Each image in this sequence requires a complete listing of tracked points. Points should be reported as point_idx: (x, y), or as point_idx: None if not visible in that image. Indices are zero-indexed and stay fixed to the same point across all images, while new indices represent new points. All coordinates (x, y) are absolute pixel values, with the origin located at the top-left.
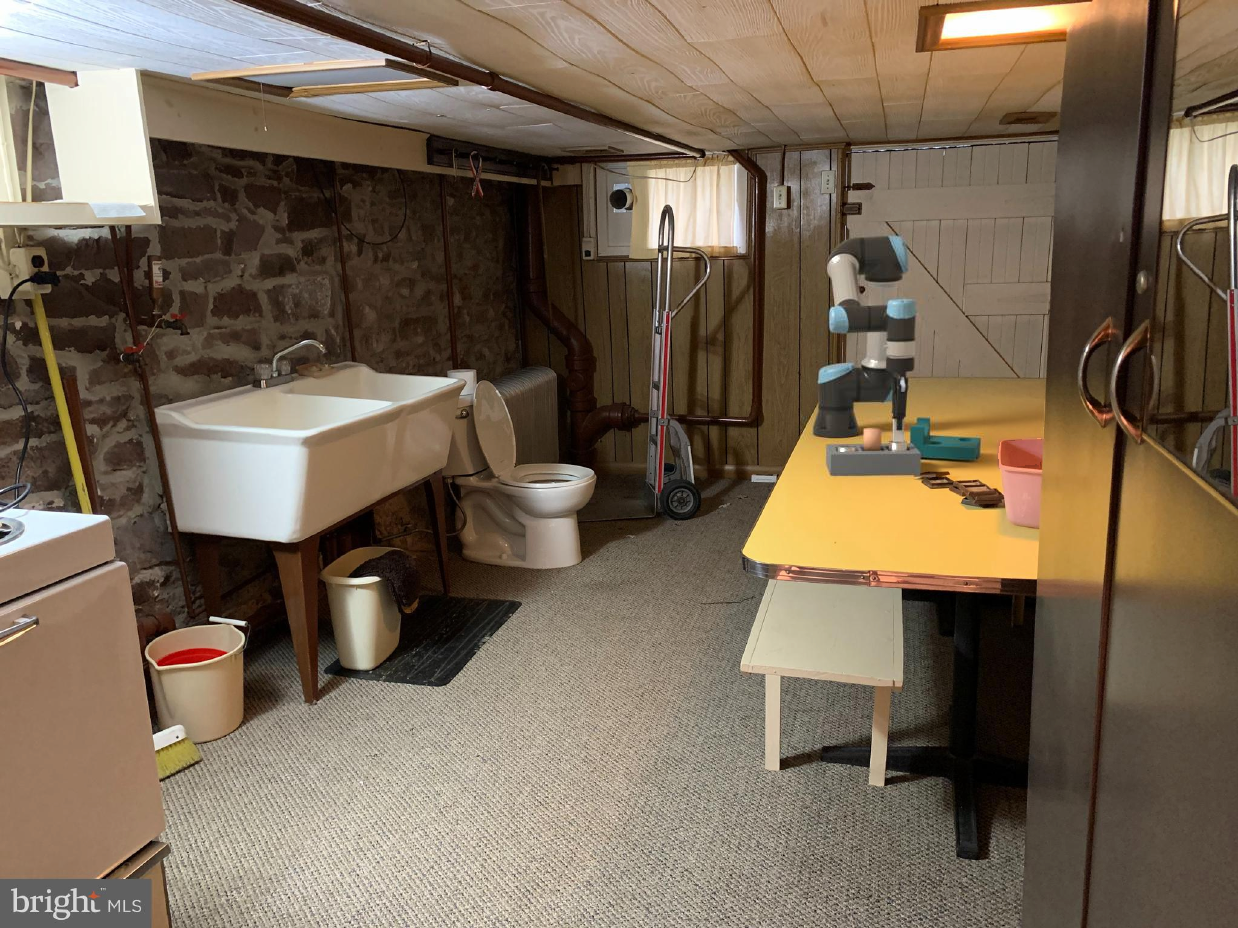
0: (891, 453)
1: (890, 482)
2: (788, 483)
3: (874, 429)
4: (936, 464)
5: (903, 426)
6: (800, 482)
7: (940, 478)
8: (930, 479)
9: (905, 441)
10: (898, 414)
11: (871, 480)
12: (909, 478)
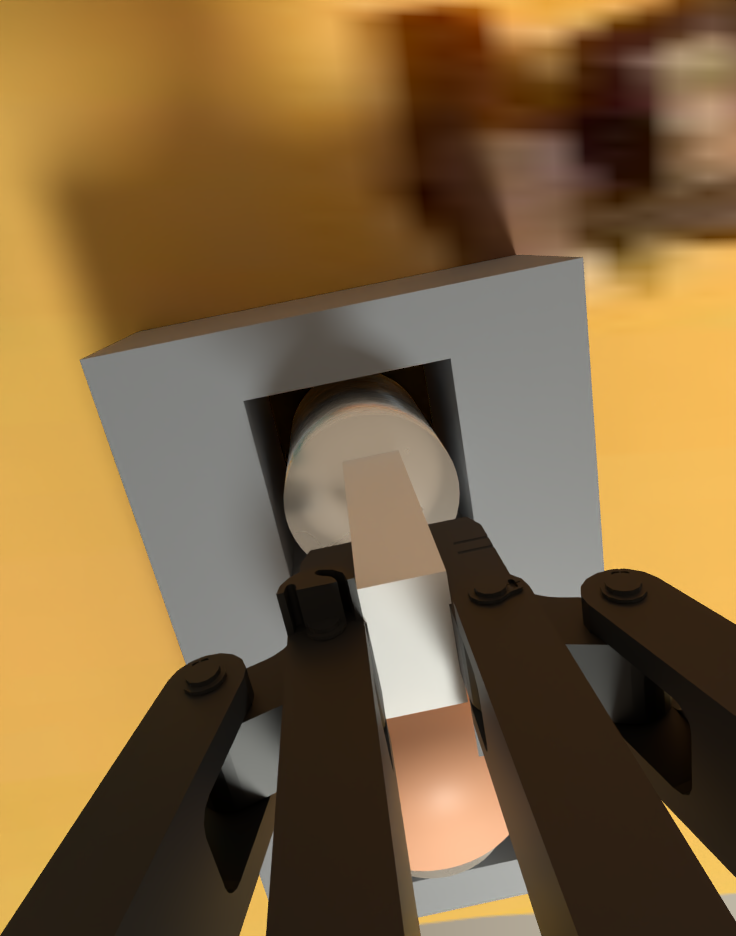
0: (587, 513)
1: (727, 443)
2: (728, 888)
3: (439, 786)
4: (113, 117)
5: (425, 522)
6: (710, 851)
7: (616, 93)
8: (648, 175)
9: (343, 431)
10: (669, 702)
11: (674, 552)
12: (620, 329)
